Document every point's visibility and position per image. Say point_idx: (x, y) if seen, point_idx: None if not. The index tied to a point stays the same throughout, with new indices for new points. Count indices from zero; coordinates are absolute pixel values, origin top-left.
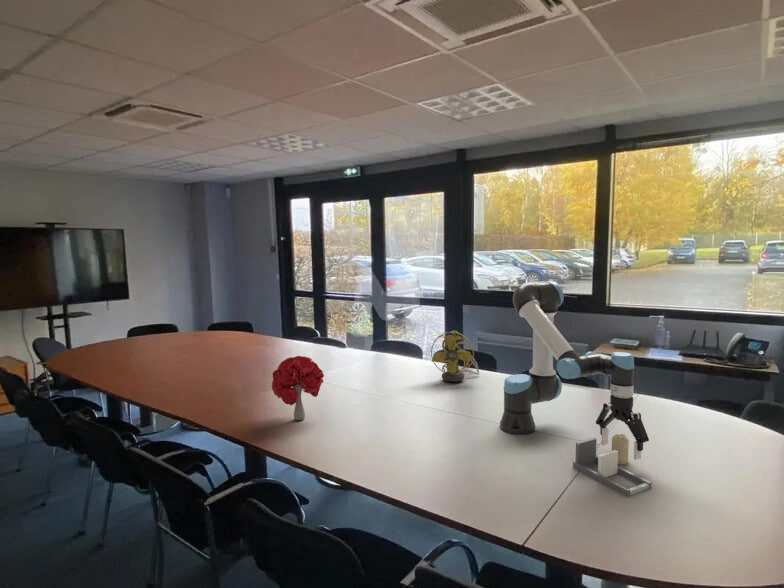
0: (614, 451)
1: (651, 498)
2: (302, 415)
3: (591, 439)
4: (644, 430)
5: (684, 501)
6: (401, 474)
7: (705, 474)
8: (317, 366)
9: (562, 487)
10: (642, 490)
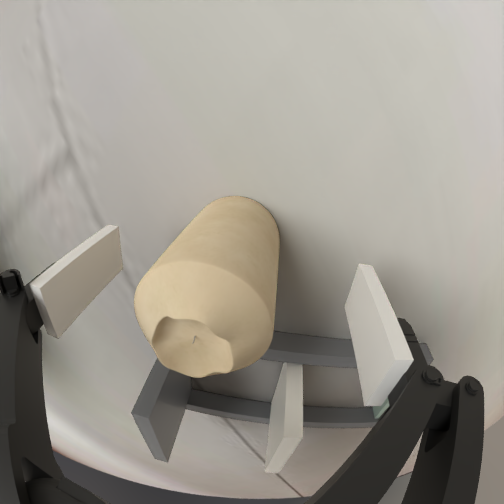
0: (290, 444)
1: None
2: None
3: (148, 430)
4: (470, 472)
5: (497, 329)
6: (120, 468)
7: None
8: None
9: (246, 450)
10: None
